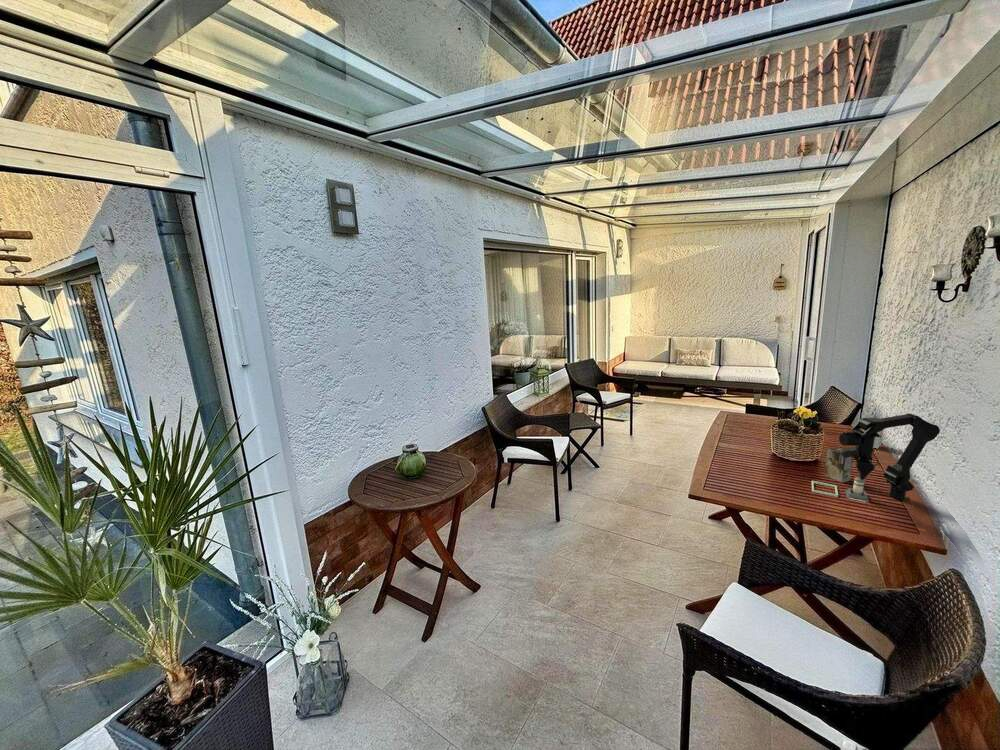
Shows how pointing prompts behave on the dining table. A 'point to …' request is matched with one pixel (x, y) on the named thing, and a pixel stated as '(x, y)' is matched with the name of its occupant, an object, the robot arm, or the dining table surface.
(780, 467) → the dining table surface
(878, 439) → the supplement box
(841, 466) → the coffee box
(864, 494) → the socket block
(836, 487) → the pale green rectangular frame
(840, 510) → the dining table surface
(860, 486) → the banded cream cylinder
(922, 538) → the dining table surface
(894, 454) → the dining table surface
